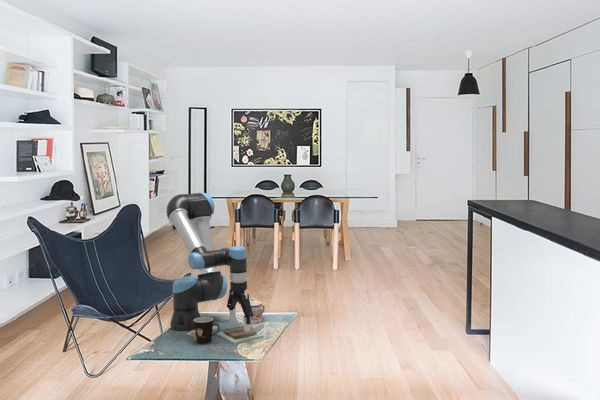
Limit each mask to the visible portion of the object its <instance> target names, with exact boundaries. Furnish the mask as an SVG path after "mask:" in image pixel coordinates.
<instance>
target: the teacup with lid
mask: <svg viewBox="0 0 600 400" xmlns="http://www.w3.org/2000/svg"><path fill="white" fill-rule="evenodd" d="M249 300H250V304H251V308H252V312H253V316H251V317H250V324H258V323H257V322H259V323H261V322H262V321H263V314H264V313H265V309H266V308H265V307H266V306H265V305H264V304H263V303H262V302H261V301H260V300H257V299H256V298H255V297H250V299H249ZM250 314H251V313H250ZM243 315H244V314H243ZM244 316H245V315H244ZM244 316H243V317H244Z"/></svg>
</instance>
